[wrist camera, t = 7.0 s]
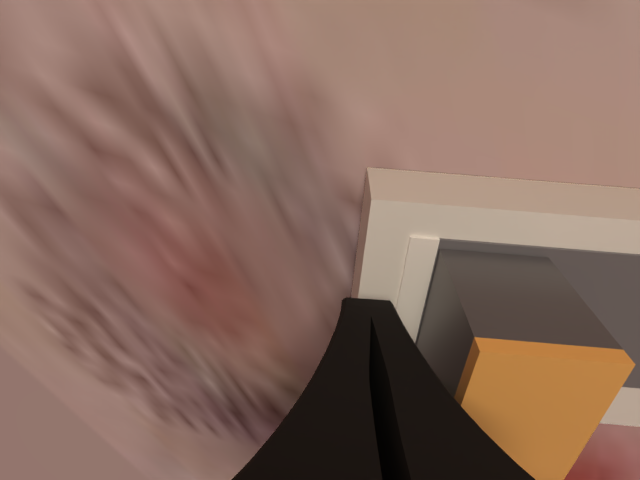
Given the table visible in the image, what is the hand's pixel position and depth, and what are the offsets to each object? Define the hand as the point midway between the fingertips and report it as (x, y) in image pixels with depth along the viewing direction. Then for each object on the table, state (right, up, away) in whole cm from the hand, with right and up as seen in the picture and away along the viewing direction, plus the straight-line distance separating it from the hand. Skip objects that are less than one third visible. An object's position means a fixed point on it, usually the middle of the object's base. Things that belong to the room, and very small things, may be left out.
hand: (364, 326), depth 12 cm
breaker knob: (+3, 0, +1) cm, 4 cm away
